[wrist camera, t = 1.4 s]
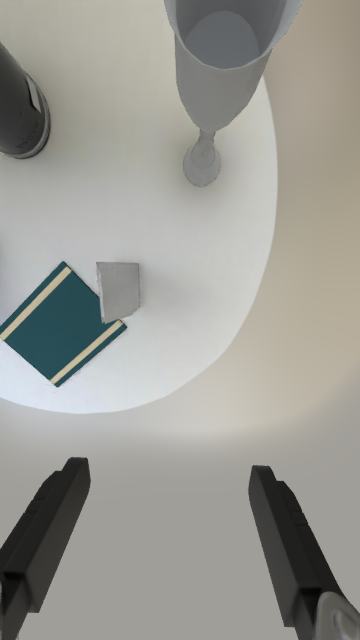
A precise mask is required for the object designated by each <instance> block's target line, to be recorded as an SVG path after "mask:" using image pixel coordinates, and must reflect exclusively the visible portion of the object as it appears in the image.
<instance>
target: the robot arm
mask: <svg viewBox="0 0 360 640" xmlns="http://www.w3.org/2000/svg"><path fill="white" fill-rule="evenodd" d="M49 127H50V118H49V111H48V107H47V103H46V101H45V98H44V96H43V94H42V92H41V90H40V89H39V87H38V86H37V84H36V83H35V82H34V81H33V80H32V78H31V77H30V76H29V75H28V74H27V73H26V72H25V71H24V70H23V69H22V68H21V66H20V65H19V64H18V63H17V62H16V60H15V59H14V58H13V57H12V55H11V54H10V53H9V52H8V50H7V49H6V48H5V47H4V45H3V44H2V43H1V42H0V151H1V152H2V153H4V154H6V155H8V156H11V157H14V158H27V157H30V156H33V155H34V154H36V153H37V152H38V151H40V149H41V148H42V147H43V146H44V144H45V142H46V140H47V137H48V133H49ZM90 482H91V480H90V472H89V464H88V459H87V458H80V457H71V458H70V459H68V461H67V462H66V464H65V466H64V467H63V469H62V471H55V472H54V473H53V474H52V475H50V476H49V477H48V478H47V479H46V480H45V481H44V482H43V484H42V486H41V487H40V488H39V490H38V492H37V493H36V495H35V496H34V499H33V500H32V501H31V502H30V504H29V505H28V507H27V509H26V511H25V513H23V515H22V516H21V518H20V519H19V521H18V523H17V524H16V526H15V527H14V529H13V530H12V532H11V533H10V535H9V537H8V538H7V540H6V541H5V543H4V544H3V546H2V548H1V549H0V640H19V631H20V629H21V627H22V624H23V622H24V620H25V618H26V615H27V613H28V612H29V613H30V612H31V613H39V611H40V608H41V606H42V604H43V601H44V599H45V596H46V594H47V592H48V589H49V587H50V584H51V582H52V580H53V577H54V575H55V572H56V570H57V568H58V565H59V563H60V560H61V558H62V555H63V553H64V551H65V548H66V546H67V544H68V541H69V539H70V536H71V534H72V532H73V529H74V527H75V524H76V522H77V519H78V517H79V515H80V512H81V510H82V507H83V505H84V503H85V500H86V498H87V495H88V492H89V488H90ZM248 491H249V500H250V505H251V508H252V512H253V515H254V519H255V522H256V526H257V530H258V533H259V537H260V540H261V544H262V547H263V551H264V555H265V558H266V562H267V566H268V569H269V573H270V576H271V580H272V584H273V587H274V591H275V594H276V598H277V602H278V605H279V609H280V612H281V616H282V620H283V623H284V626H285V627H295V630H296V633H297V636H298V639H299V640H360V613H359V612H358V611H357V610H356V609H355V608H354V606H353V605H352V604H350V602H349V601H348V600H347V598H346V597H345V596H344V594H343V593H342V591H341V589H340V588H339V586H338V584H337V582H336V580H335V578H334V576H333V574H332V572H331V570H330V568H329V565H328V563H327V561H326V559H325V557H324V555H323V553H322V551H321V549H320V547H319V545H318V543H317V541H316V538H315V536H314V534H313V532H312V530H311V528H310V526H309V525H308V522H307V520H306V518H305V515H304V514H303V513H302V509H301V507H300V505H299V503H298V501H297V499H296V497H295V495H294V493H293V492H292V491H291V490H290V488H289V487H288V486H287V485H286V483H285V482H284V481H276V478H275V476H274V474H273V471H272V469H271V468H270V467H269V466H258V465H256V466H255V465H253V466H252V471H251V476H250V482H249V490H248Z"/></svg>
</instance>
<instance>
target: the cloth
mask: <svg viewBox="0 0 360 640" xmlns="http://www.w3.org/2000/svg"><path fill="white" fill-rule="evenodd" d="M126 328H127V327H126V326H125V325H124V324H123V323H122V322H121V321H120V320H119V319H118V320H114V321H112V322H109V323H107V324H105V322H103V324H102V318H101V307H100V299H99V298H98V297H97V296H96V295H95V294H94V292H93V291H92V290H91V289H90V288H89V287H88V286H87V285H86V284H85V283H84V282H83V281H82V280H81V279H80V278H79V277H78V276H77V275H76V274H75V273H74V272H73V271H72V270H71V268H70V267H69V266H68V265H67V264H66V263H65V262H61V264H60V265H59V266H58V267H57V268H56V269H55V270H54V271H53V272H52V273H51V274H50V275H49V276H48V277H47V278H46V279H45V280H44V281H43V282H42V283H41V284H40V286H39V287H38V288H37V289H36V290H35V291H34V292H33V293H32V294H31V295H30V296H29V297H28V298H27V299H26V300H25V301H24V302H23V303H22V304H21V305H20V306H19V308H18V309H17V310H16V311H15V312H14V313H13V314H12V315H11V316H10V317H9V318H8V319H7V320H6V321H5V322H4V323H3V324H2V325H1V326H0V338H1V339H2V340H3V341H5V342H6V343H7V344H8V345H9V346H10V347H11V348H13V349H14V350H15V351H16V352H17V353H18V354H19V355H21V356H22V357H23V358H24V359H25V360H26V361H27V362H29V363H30V364H31V365H32V366H33V367H34V368H36V369H37V370H38V371H39V372H40V373H41V374H42V375H44V376H45V377H46V378H47V379H48V380H49V381H50V382H51V383H52V384H54V385H55V386H56V387H57V388H58V387H59V386H60V385H61V384H62V383H64V382H65V381H66V380H67V379H68V378H69V377H70V376H72V375H73V374H74V373H75V372H76V371H77V370H79V369H80V368H81V367H82V366H83V365H84V364H86V363H87V362H88V361H89V360H90V359H91V358H93V357H94V356H95V355H96V354H97V353H98V352H100V351H101V350H102V349H103V348H104V347H105V346H107V345H108V344H109V343H110V342H111V341H112V340H114V339H115V338H116V337H117V336H118V335H119V334H121V333H122V332H123V331H124V330H125V329H126Z"/></svg>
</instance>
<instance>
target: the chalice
mask: <svg viewBox="0 0 360 640" xmlns="http://www.w3.org/2000/svg"><path fill="white" fill-rule="evenodd" d="M302 2H303V0H164V3H165V7H166V11H167V15H168V19H169V23H170V25H171V27H172V29H173V30H174V34H175V57H176V80H177V87H178V90H179V94H180V98H181V101H182V103H183V105H184V107H185V109H186V111H187V113H188V115H189V116H190V118H191V120H192V121H193V123H194V124H196V125H197V126H198V127H199V128H200V137H199V139H198V141H197V142H196V143H195V144H194V145H192V146H191V147H190V148H189V149H188V151H187V152H186V154H185V157H184V161H183V170H184V173H185V176H186V177H187V179H188V180H189V181H190V182H191V183H192V184H194V185H197V186H206V185H208V184H210V183H212V182H213V181H214V180H215V179H216V177H217V175H218V174H219V171H220V167H221V159H220V155H219V152H218V151H217V149H216V147H215V146H214V140H213V137H214V135H215V132H216V131H217V130H220V129H221V128H223V127H225V126H227V125H228V124H229V123H230V122H231V121H232V120H233V119H234V118H235V117H236V116H237V115H238V114H239V113H240V112H241V111H242V110H243V109H244V108H245V107H246V106H247V105H248V103H249V101H250V99H251V98H252V96H253V94H254V92H255V90H256V88H257V86H258V83H259V81H260V78H261V76H262V73H263V71H264V68H265V66H266V63H267V61H268V59H269V56H270V54H271V51H272V49H273V47H274V46H275V45H276V44H277V43H278V42H279V40H280V39H281V38H282V37H283V36H284V35H285V34H286V32H287V31H288V29H289V27H290V25H291V23H292V22H293V20H294V18H295V16H296V15H297V13H298V11H299V9H300V7H301V6H302Z"/></svg>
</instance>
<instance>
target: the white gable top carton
mask: <svg viewBox="0 0 360 640" xmlns="http://www.w3.org/2000/svg"><path fill="white" fill-rule="evenodd" d="M96 263H97V274H98V285H99V296H100V307H101V318H102V324H103V322H105V324H107V323H109V322H112V321H114V320H118V319H121V318H124V317H127V316H130V315H131V314H132V313H133V312H135V311H136V310H137V309H138V308H139V307H140V294H139V266H138V263H112V262H96Z"/></svg>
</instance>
